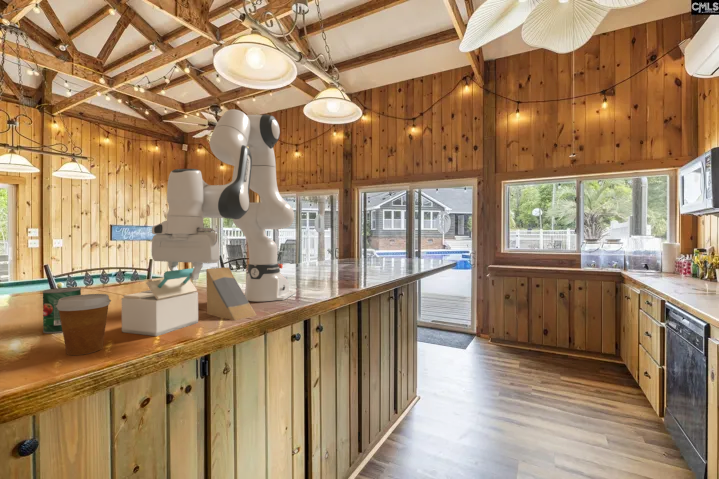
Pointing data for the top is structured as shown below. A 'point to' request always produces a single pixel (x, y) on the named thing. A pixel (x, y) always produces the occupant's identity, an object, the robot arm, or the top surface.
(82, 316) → the disposable coffee cup
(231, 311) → the sandwich container
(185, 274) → the front flap
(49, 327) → the canned tomato
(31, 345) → the top surface
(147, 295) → the back flap
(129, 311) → the white carton
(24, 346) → the top surface
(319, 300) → the top surface
